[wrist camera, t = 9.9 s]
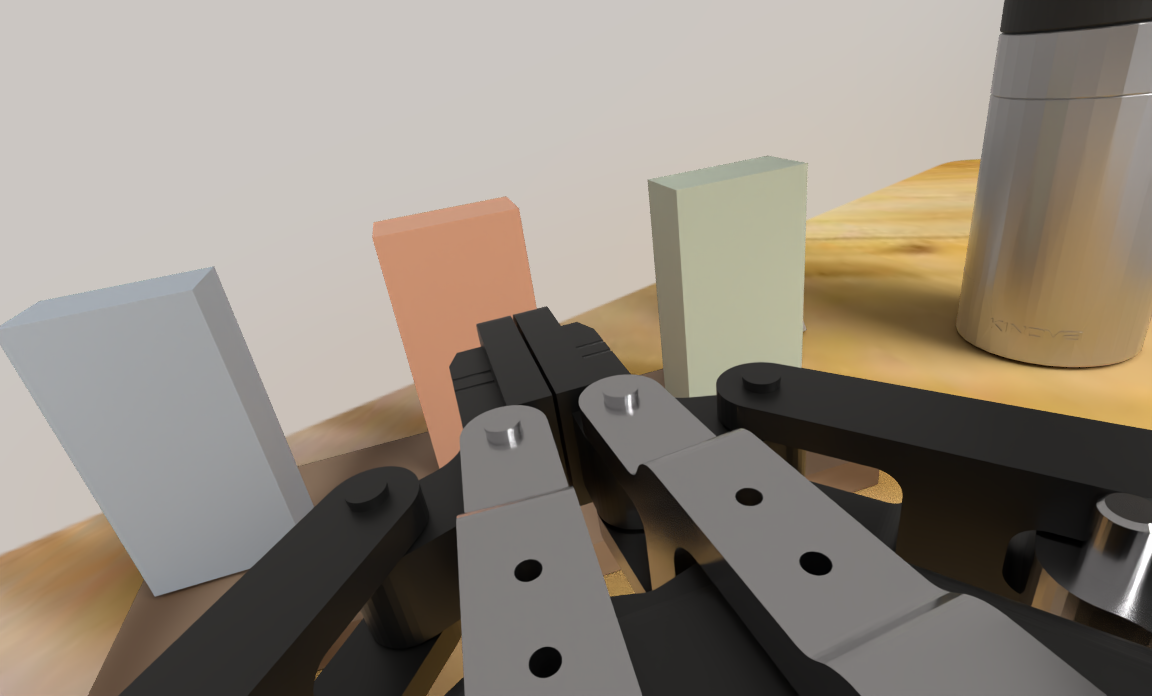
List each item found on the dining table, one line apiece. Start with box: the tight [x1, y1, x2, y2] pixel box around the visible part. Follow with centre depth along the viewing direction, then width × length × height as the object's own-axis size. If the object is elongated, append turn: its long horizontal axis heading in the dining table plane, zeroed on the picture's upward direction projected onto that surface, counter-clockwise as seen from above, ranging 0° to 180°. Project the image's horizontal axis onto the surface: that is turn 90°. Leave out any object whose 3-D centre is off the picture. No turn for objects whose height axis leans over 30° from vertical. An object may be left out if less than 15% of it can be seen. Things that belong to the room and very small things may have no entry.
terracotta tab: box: [372, 197, 537, 469], centre depth 28 cm, size 6×3×12 cm, turn 106°
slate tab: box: [0, 267, 314, 597], centre depth 24 cm, size 6×3×12 cm, turn 106°
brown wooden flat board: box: [88, 369, 879, 696], centre depth 29 cm, size 32×12×2 cm, turn 106°
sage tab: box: [648, 156, 808, 398], centre depth 29 cm, size 6×3×12 cm, turn 106°
